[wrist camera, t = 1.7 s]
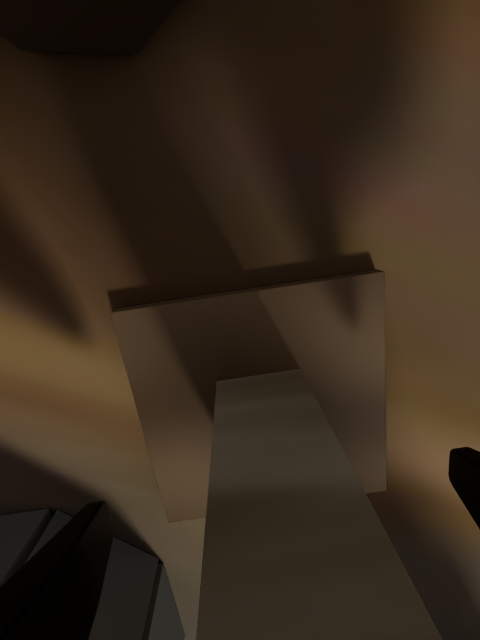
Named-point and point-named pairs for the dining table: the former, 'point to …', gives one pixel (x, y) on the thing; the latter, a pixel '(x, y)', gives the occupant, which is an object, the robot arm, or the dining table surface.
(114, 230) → the dining table surface
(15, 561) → the bowl
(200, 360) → the coaster
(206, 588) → the square wooden post
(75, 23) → the beer bottle
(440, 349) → the dining table surface
